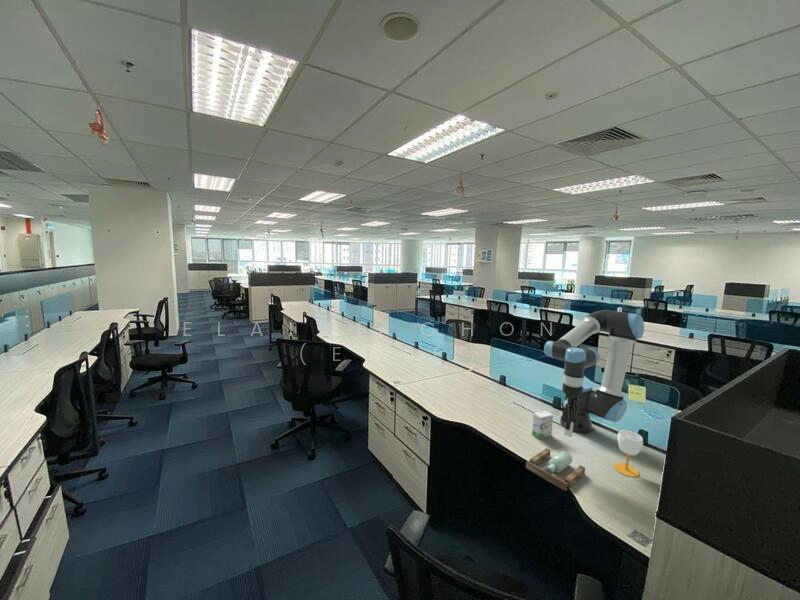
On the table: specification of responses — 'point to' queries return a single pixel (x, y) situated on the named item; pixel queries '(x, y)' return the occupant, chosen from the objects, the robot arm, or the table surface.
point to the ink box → (542, 424)
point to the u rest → (548, 476)
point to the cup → (628, 451)
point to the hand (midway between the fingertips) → (568, 435)
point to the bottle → (559, 462)
